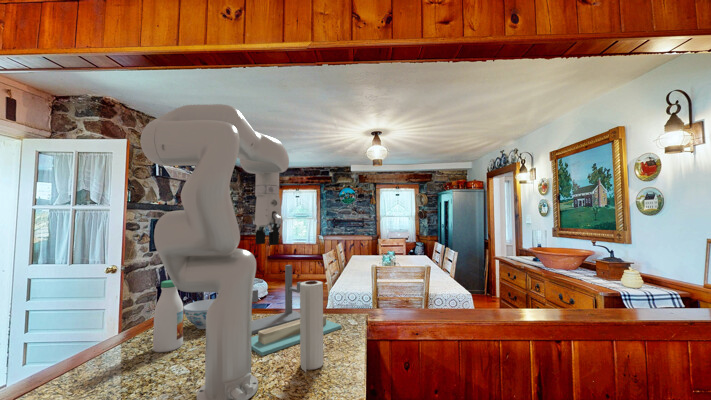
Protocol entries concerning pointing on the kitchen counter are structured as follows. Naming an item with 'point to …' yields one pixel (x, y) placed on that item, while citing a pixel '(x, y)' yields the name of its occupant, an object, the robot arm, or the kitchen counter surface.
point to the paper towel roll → (311, 325)
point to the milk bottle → (168, 319)
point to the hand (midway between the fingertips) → (266, 244)
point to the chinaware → (198, 312)
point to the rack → (289, 313)
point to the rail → (281, 331)
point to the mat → (286, 340)
